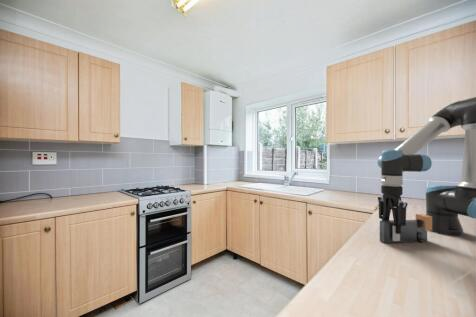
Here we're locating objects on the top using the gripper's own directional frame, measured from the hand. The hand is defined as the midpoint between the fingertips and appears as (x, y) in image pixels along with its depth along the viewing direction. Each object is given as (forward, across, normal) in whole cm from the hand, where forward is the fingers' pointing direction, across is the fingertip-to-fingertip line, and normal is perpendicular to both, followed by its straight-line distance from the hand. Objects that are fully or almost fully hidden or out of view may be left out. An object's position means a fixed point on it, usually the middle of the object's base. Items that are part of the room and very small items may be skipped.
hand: (391, 238), depth 92 cm
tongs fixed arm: (+2, 0, +6) cm, 7 cm away
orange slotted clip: (-4, 0, +15) cm, 16 cm away
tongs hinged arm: (+1, +1, +3) cm, 3 cm away
